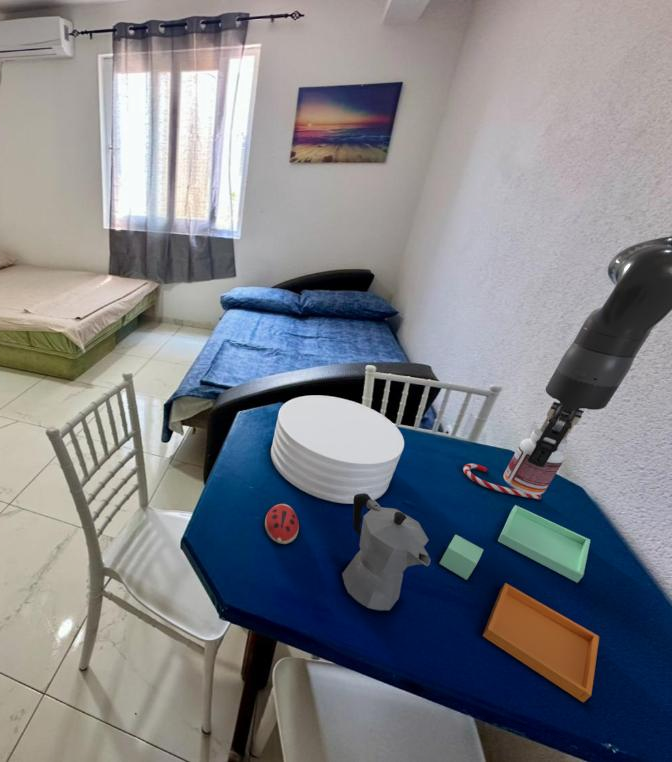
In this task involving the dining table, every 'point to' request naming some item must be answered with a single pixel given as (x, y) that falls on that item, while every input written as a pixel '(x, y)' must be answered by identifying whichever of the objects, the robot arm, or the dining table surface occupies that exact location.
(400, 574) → the coffeepot
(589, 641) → the amber tray
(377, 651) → the dining table surface
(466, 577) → the mint block
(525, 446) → the pill bottle
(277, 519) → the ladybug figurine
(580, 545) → the mint tray
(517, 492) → the candy cane
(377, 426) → the plate stack
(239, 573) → the dining table surface
